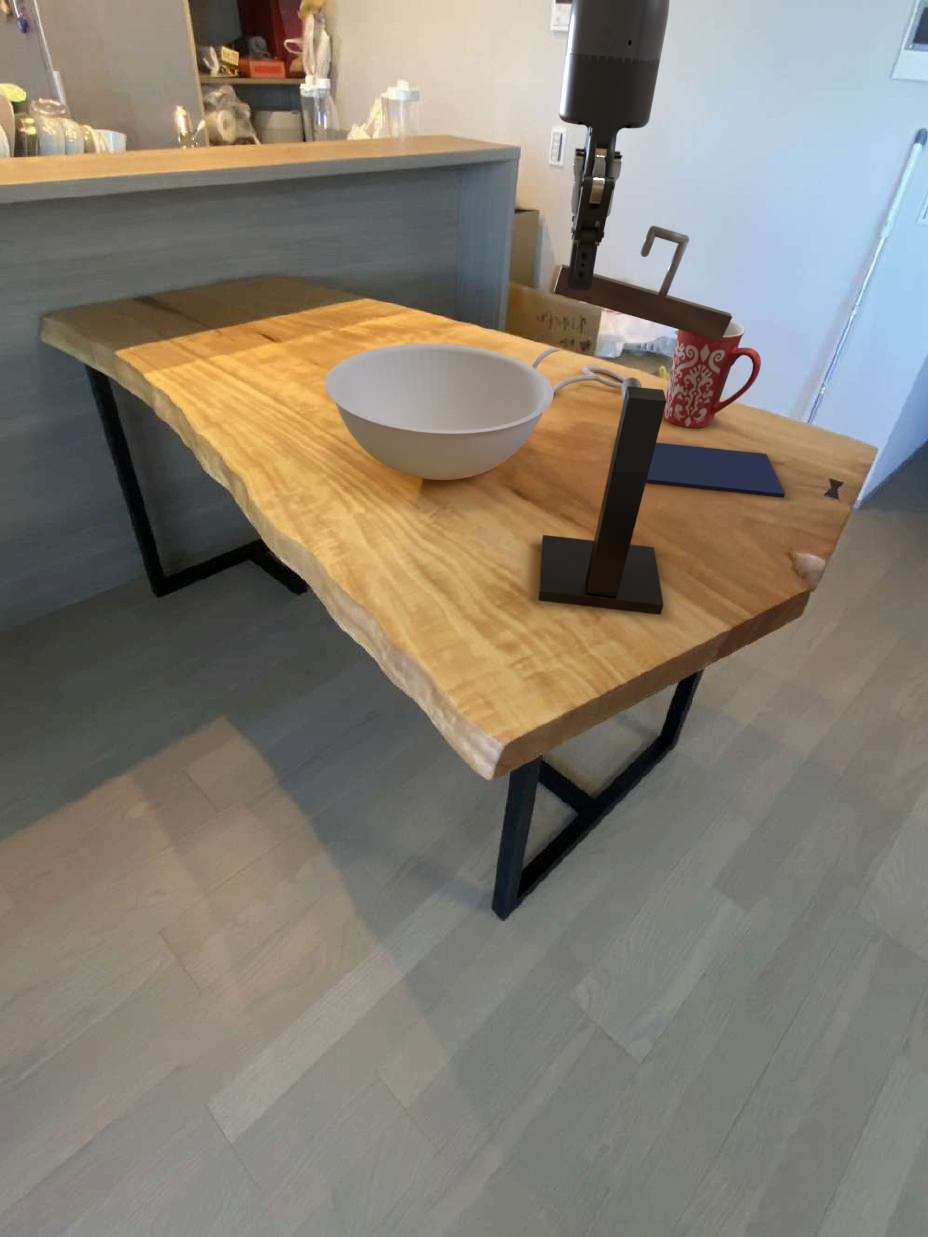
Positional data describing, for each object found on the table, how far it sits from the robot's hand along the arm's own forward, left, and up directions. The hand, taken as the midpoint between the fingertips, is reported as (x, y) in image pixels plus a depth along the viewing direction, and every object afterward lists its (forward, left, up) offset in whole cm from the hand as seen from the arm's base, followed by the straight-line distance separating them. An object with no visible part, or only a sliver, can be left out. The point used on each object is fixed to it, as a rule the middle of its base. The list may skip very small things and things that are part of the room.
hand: (578, 285), depth 66 cm
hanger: (-6, 0, -2) cm, 7 cm away
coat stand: (-6, +13, -24) cm, 28 cm away
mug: (-22, -29, -25) cm, 44 cm away
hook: (-4, -37, -25) cm, 45 cm away
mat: (-20, -14, -24) cm, 34 cm away
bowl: (+14, -9, -25) cm, 30 cm away
